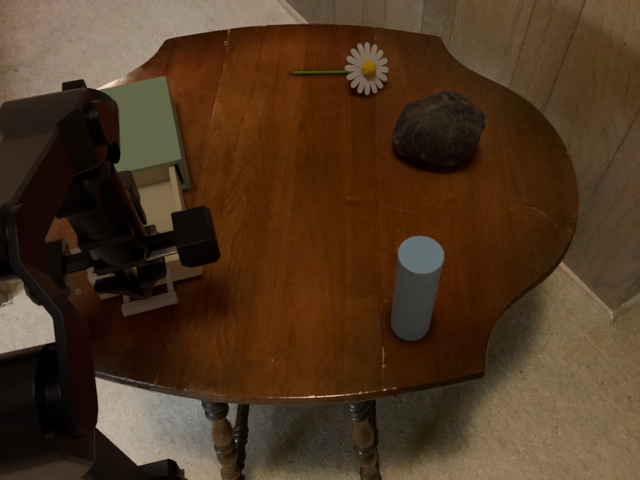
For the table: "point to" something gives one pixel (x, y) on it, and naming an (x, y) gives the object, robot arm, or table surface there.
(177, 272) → the drawer
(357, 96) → the table surface
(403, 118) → the rock
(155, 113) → the cabinet
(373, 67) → the decorative flower
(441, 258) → the canister
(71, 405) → the robot arm
